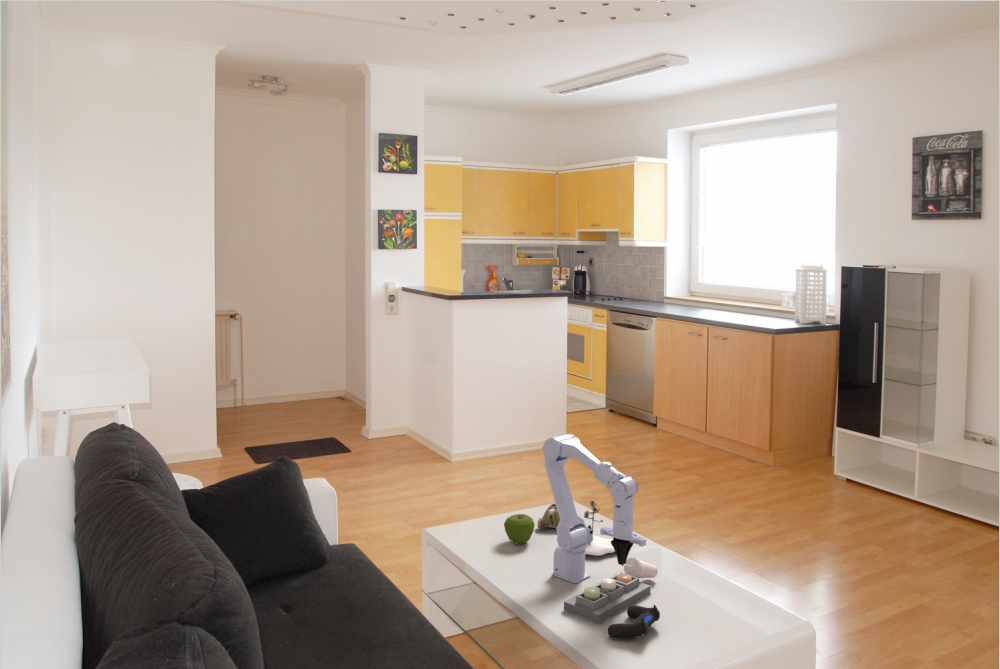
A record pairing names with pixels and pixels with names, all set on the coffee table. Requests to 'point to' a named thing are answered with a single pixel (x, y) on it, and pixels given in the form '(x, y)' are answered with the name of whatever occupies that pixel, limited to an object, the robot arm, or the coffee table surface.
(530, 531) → the apple
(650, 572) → the smoothie
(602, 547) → the figurine
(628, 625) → the gaming controller
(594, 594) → the sage button
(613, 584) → the offwhite button
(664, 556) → the coffee table surface
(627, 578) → the peach button
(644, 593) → the button panel
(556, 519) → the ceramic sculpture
